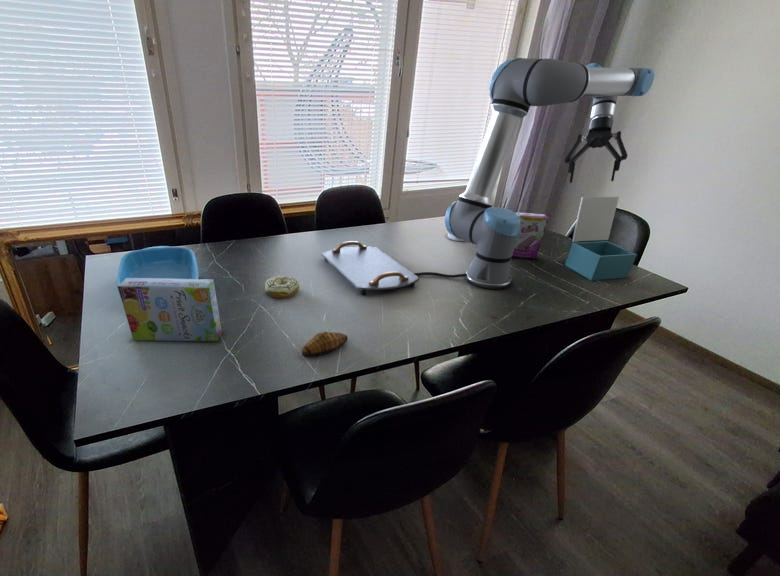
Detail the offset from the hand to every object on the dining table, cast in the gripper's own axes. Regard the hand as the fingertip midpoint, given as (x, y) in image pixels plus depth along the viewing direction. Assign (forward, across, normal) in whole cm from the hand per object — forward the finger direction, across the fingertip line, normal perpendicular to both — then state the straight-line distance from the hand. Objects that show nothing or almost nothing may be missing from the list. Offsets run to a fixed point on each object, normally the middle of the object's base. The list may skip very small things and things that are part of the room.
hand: (591, 181), depth 155 cm
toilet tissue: (+21, +47, -3) cm, 52 cm away
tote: (+33, -6, +2) cm, 34 cm away
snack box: (+63, +85, +113) cm, 155 cm away
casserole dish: (+52, +112, +98) cm, 157 cm away
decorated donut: (+50, +79, +80) cm, 123 cm away
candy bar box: (+29, +20, +3) cm, 35 cm away
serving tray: (+41, +64, +52) cm, 92 cm away
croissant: (+63, +50, +97) cm, 126 cm away
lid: (+14, -4, +3) cm, 15 cm away
